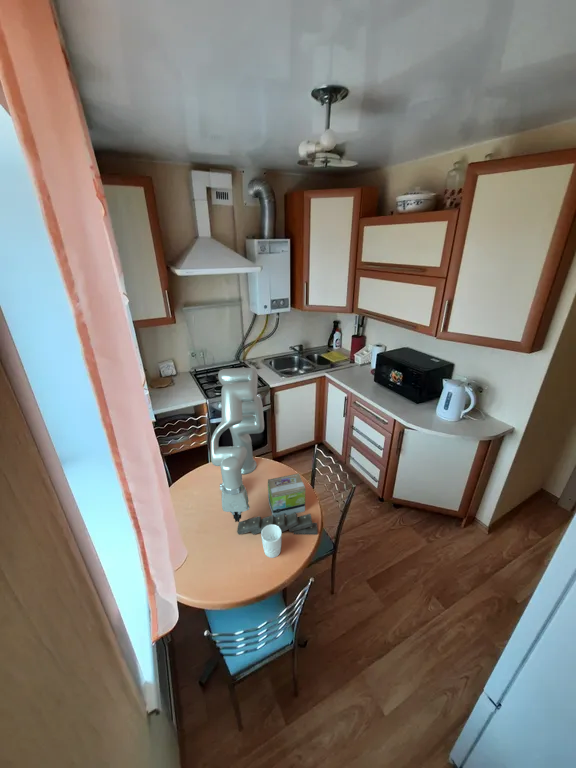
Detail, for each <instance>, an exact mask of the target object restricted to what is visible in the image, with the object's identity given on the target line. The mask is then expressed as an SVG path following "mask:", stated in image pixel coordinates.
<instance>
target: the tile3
mask: <svg viewBox="0 0 576 768" xmlns="http://www.w3.org/2000/svg"><path fill="white" fill-rule="evenodd" d="M298 517H299V516H298V513H296V512H294V513H292V514H290V515H286V526H285V527H283V528H281V532H282V533H283V532H286V531H287V530H289V529H290V528H292V527H293V526H295V525H297V524H299V522H298Z"/></svg>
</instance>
